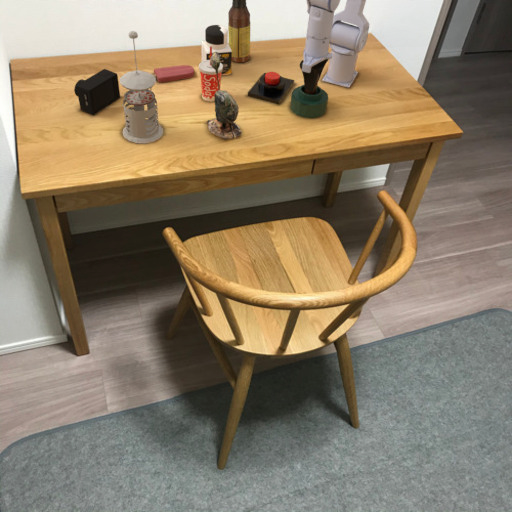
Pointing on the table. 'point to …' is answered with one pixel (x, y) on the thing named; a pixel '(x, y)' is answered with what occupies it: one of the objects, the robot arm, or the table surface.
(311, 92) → the brown cylinder
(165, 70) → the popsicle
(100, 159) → the table surface
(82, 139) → the table surface
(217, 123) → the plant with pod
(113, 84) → the digital camera
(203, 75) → the beverage cup
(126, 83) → the french press
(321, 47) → the robot arm
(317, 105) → the green stepped cylinder
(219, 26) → the medicine bottle
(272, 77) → the button
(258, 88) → the button box
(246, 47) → the sauce bottle
